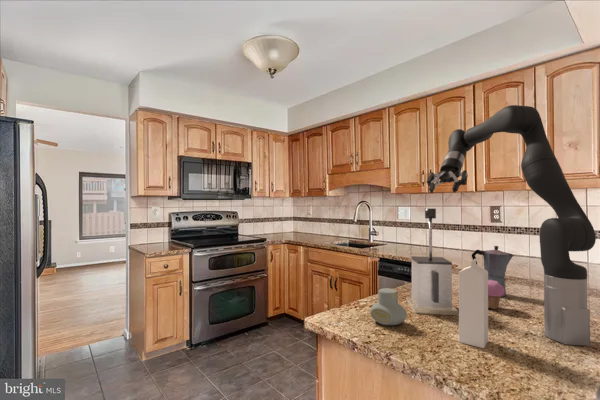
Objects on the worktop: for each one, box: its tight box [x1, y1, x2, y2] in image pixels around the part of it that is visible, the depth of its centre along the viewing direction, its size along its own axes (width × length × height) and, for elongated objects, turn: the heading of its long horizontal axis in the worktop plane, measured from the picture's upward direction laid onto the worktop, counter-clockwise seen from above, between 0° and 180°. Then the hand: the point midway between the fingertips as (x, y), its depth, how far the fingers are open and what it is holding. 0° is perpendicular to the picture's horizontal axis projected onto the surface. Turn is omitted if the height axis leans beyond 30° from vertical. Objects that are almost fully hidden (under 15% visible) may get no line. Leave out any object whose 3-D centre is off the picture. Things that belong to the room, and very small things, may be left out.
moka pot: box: [471, 245, 515, 298], centre depth 132 cm, size 10×15×20 cm, turn 78°
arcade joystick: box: [406, 256, 459, 316], centre depth 114 cm, size 14×14×17 cm
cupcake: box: [488, 280, 506, 310], centre depth 114 cm, size 9×9×10 cm
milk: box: [458, 258, 489, 349], centre depth 86 cm, size 6×6×22 cm
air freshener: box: [369, 287, 407, 327], centre depth 100 cm, size 11×8×10 cm
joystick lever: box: [424, 208, 437, 260], centre depth 114 cm, size 9×9×24 cm
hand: (442, 191), depth 123 cm, fingers open, 8 cm apart
